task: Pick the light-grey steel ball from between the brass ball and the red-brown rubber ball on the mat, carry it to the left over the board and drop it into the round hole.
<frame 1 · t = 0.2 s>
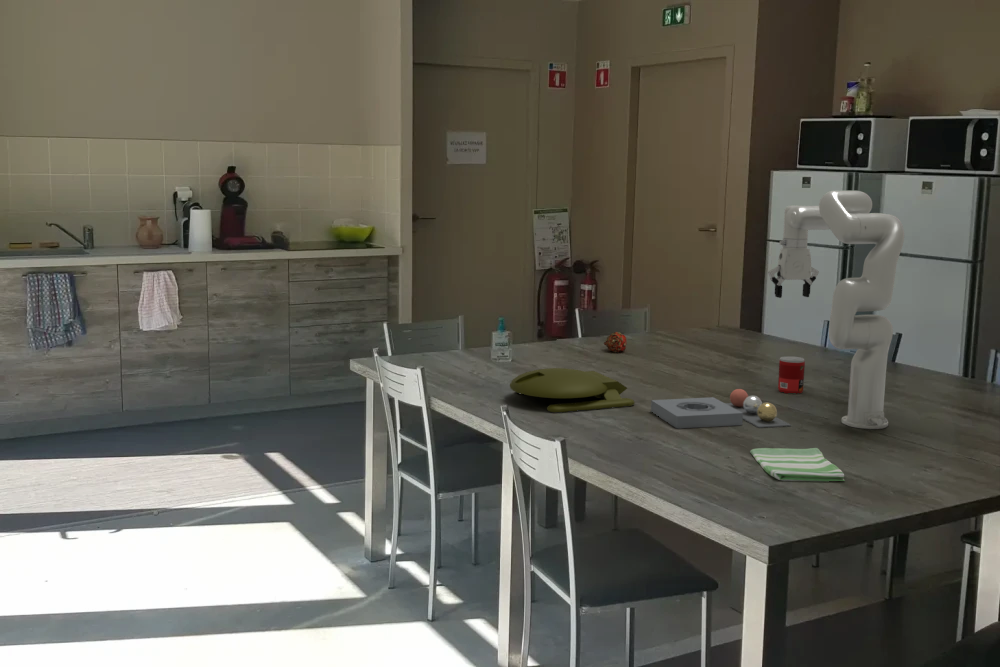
hand: (792, 296, 329), 31 cm above the table, tool pointing down, fingers open, 9 cm apart
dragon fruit: (615, 351, 402), on the table
board: (695, 418, 297), on the table
brass ball: (767, 412, 292), point 3 cm above the table, touching mat
rubber ball: (739, 397, 309), point 3 cm above the table, touching mat
steel ball: (752, 404, 301), point 3 cm above the table, touching mat
canned food: (790, 392, 333), on the table
spaceship: (564, 401, 319), on the table
dish towel: (796, 469, 250), on the table
mat: (752, 415, 301), on the table
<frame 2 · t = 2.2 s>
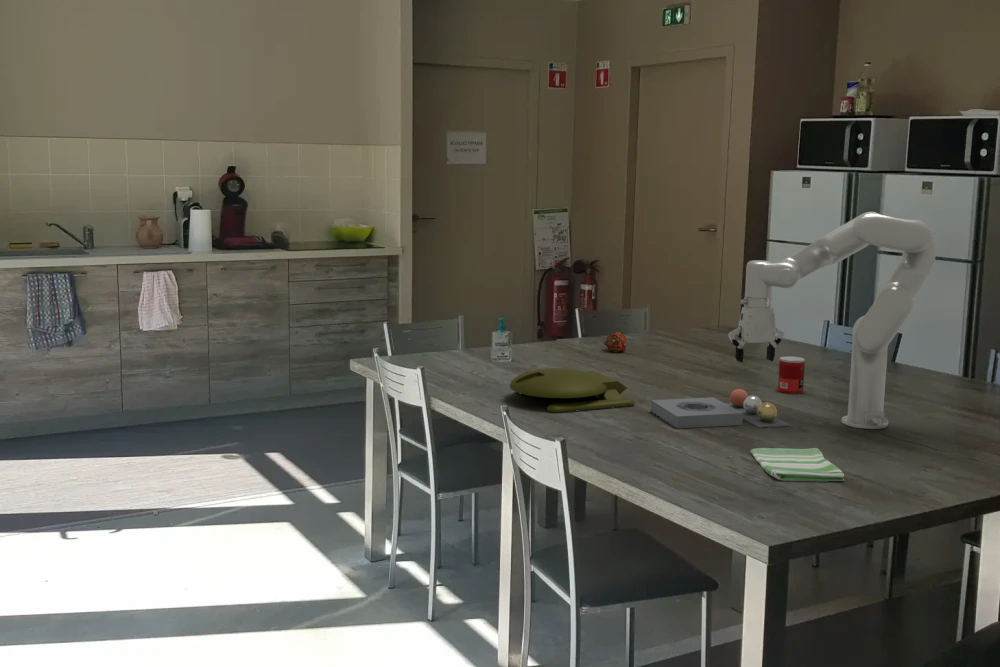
hand: (754, 360, 298), 16 cm above the table, tool pointing down, fingers open, 9 cm apart
nothing on the table moved.
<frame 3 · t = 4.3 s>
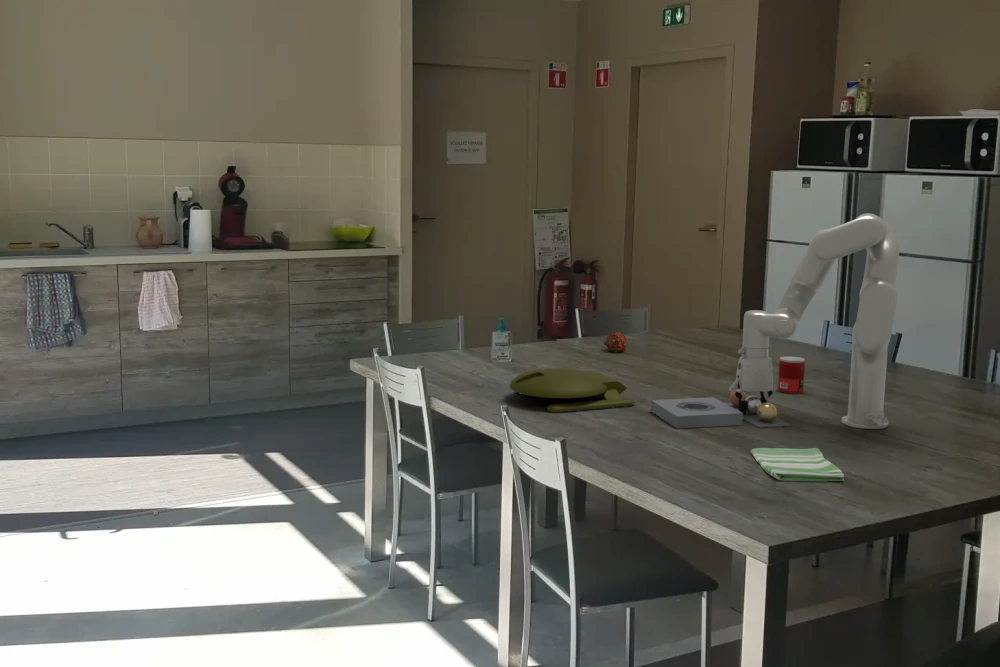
hand: (752, 412, 301), 1 cm above the table, tool pointing down, fingers closed on steel ball, 5 cm apart
steel ball: (752, 404, 301), point 3 cm above the table, touching gripper, mat
everything else where it was.
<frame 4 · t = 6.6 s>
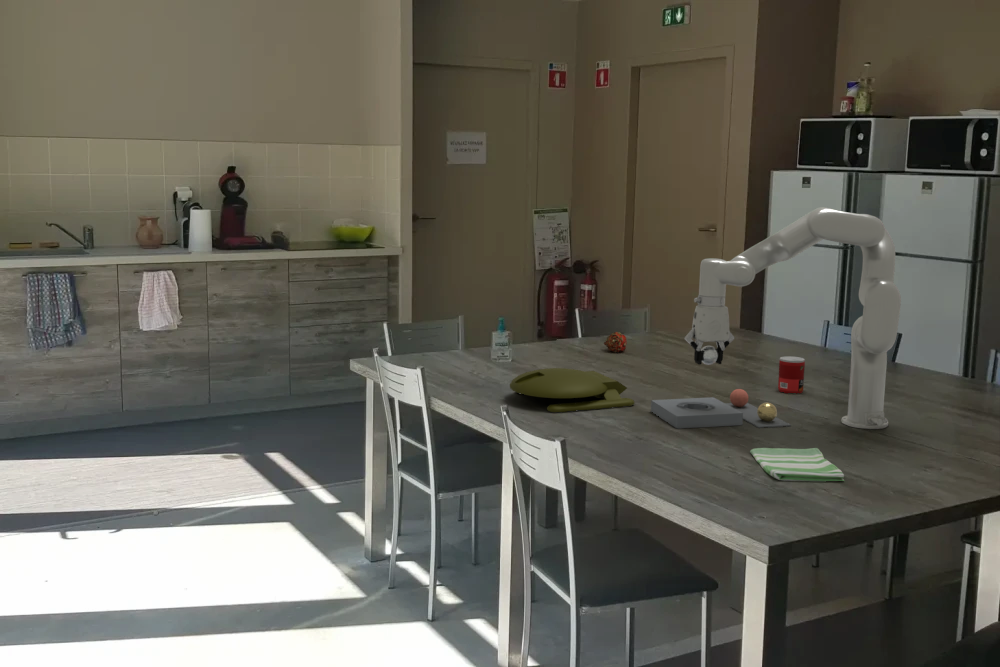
hand: (708, 362, 295), 16 cm above the table, tool pointing down, fingers closed on steel ball, 5 cm apart
steel ball: (708, 355, 295), point 19 cm above the table, touching gripper
everything else where it was.
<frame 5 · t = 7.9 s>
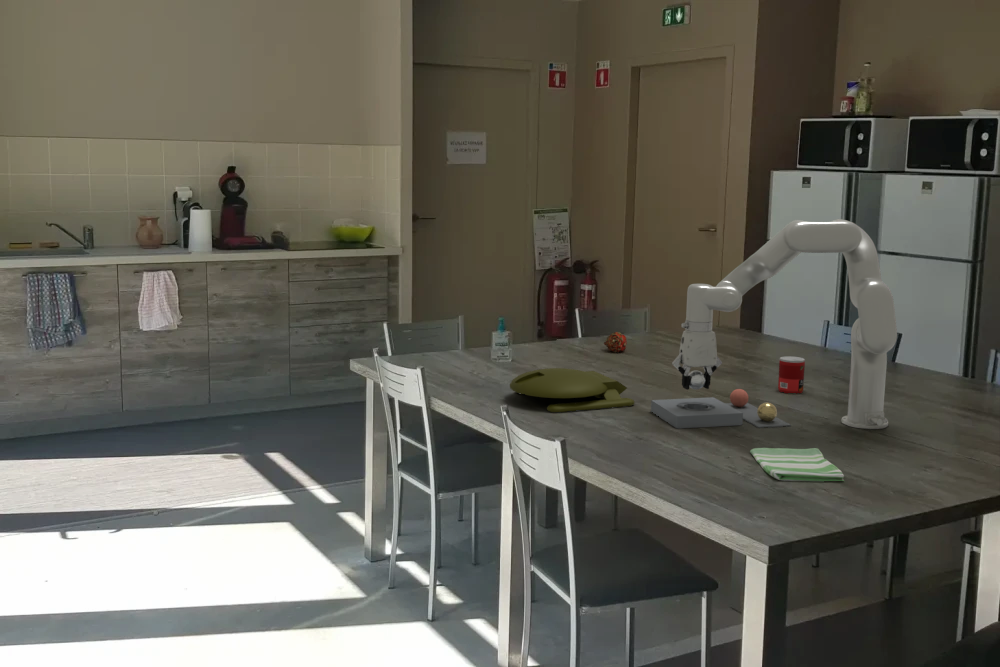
hand: (695, 387, 296), 9 cm above the table, tool pointing down, fingers closed on steel ball, 5 cm apart
steel ball: (696, 379, 295), point 11 cm above the table, touching gripper
everything else where it was.
when the fingers open (5 cm above the table, at t = 8.9 s): steel ball drops 4 cm, point 3 cm above the table.
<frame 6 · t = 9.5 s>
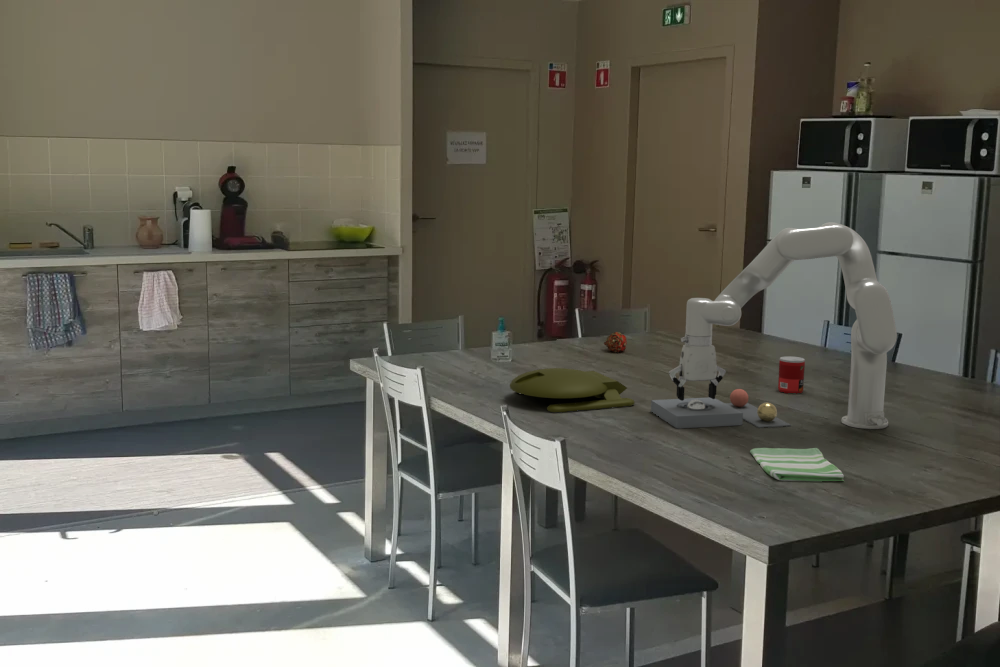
hand: (696, 398, 296), 6 cm above the table, tool pointing down, fingers open, 9 cm apart
steel ball: (696, 408, 297), point 3 cm above the table
everything else where it was.
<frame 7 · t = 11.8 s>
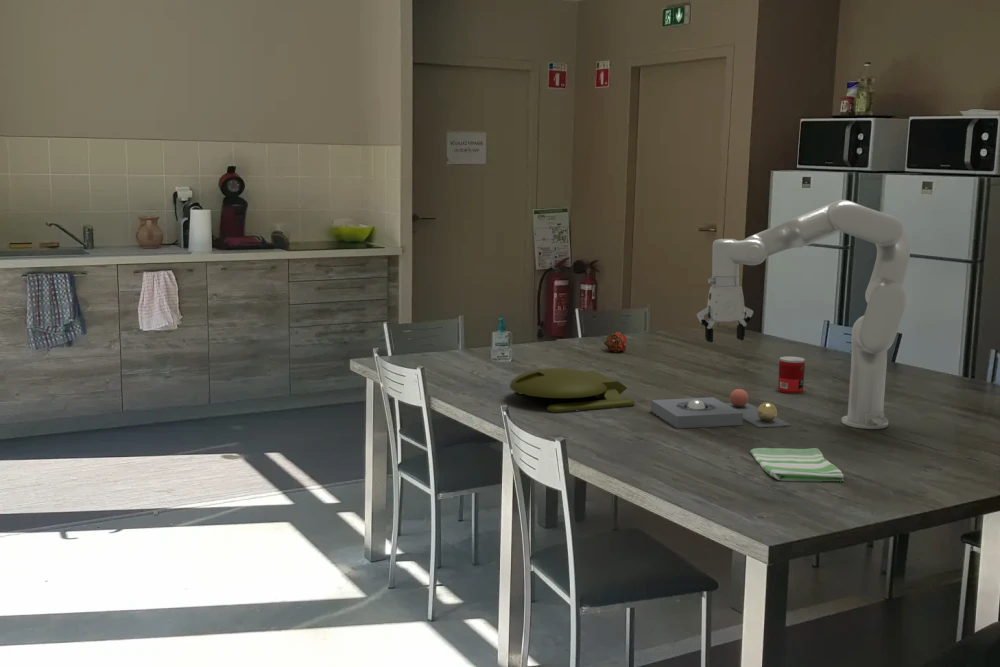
hand: (724, 340, 296), 23 cm above the table, tool pointing down, fingers open, 9 cm apart
nothing on the table moved.
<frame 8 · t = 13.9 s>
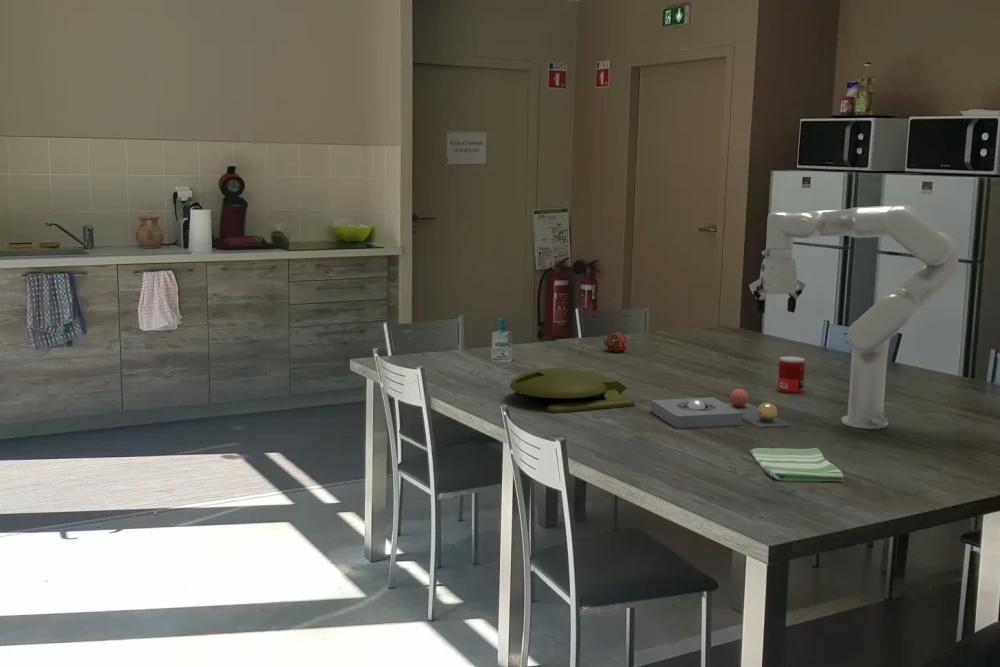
hand: (775, 312, 299), 30 cm above the table, tool pointing down, fingers open, 9 cm apart
nothing on the table moved.
at the end: steel ball 0.1 cm off-centre in the board, point 2.7 cm above the board's base; the gripper is holding nothing; brass ball moved 0.1 cm from its start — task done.
